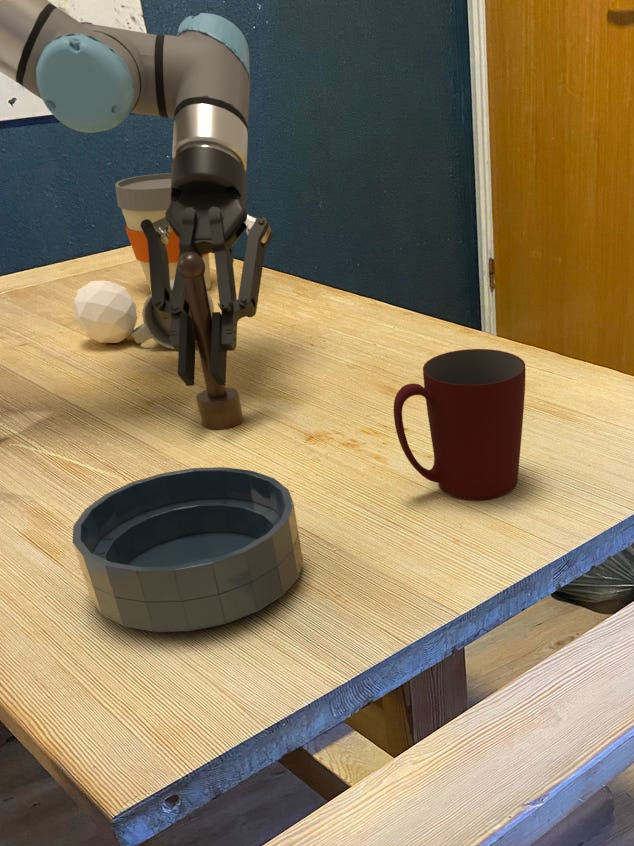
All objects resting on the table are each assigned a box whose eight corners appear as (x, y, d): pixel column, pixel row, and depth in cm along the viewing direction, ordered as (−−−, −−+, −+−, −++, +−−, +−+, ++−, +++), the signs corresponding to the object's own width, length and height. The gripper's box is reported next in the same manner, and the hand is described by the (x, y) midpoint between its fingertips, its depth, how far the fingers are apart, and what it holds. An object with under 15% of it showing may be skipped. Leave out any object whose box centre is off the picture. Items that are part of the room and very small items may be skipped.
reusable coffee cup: (228, 275, 148) (209, 171, 139) (215, 298, 138) (194, 187, 129) (148, 279, 148) (124, 174, 139) (129, 302, 138) (102, 191, 129)
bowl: (49, 621, 70) (24, 553, 67) (169, 520, 83) (153, 458, 79) (239, 656, 66) (223, 585, 63) (336, 544, 79) (327, 479, 75)
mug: (421, 521, 81) (412, 400, 75) (385, 481, 88) (373, 366, 81) (542, 490, 85) (544, 373, 79) (498, 454, 92) (496, 342, 85)
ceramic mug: (221, 328, 126) (209, 269, 122) (209, 348, 120) (195, 287, 115) (143, 333, 126) (127, 274, 122) (126, 353, 120) (110, 292, 115)
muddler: (193, 427, 99) (156, 257, 89) (215, 411, 103) (181, 245, 93) (230, 431, 98) (196, 259, 88) (250, 415, 102) (220, 247, 91)
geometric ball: (134, 361, 124) (124, 320, 116) (72, 348, 123) (58, 306, 115) (149, 317, 127) (140, 274, 119) (88, 304, 126) (75, 260, 118)
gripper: (292, 187, 101) (287, 393, 97) (149, 191, 101) (139, 396, 98) (275, 140, 94) (269, 361, 90) (121, 144, 94) (109, 364, 90)
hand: (202, 379), depth 94 cm, fingers open, 3 cm apart
